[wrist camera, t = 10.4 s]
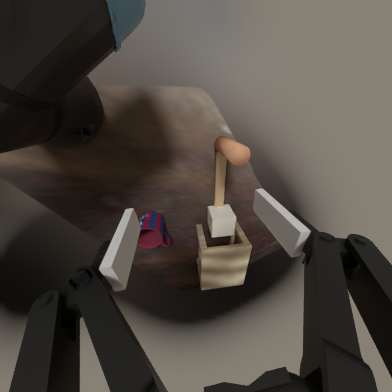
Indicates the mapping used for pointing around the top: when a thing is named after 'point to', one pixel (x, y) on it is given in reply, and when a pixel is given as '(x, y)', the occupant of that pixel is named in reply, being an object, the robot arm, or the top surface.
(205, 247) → the wooden holder
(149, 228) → the mug
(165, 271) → the top surface
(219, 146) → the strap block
